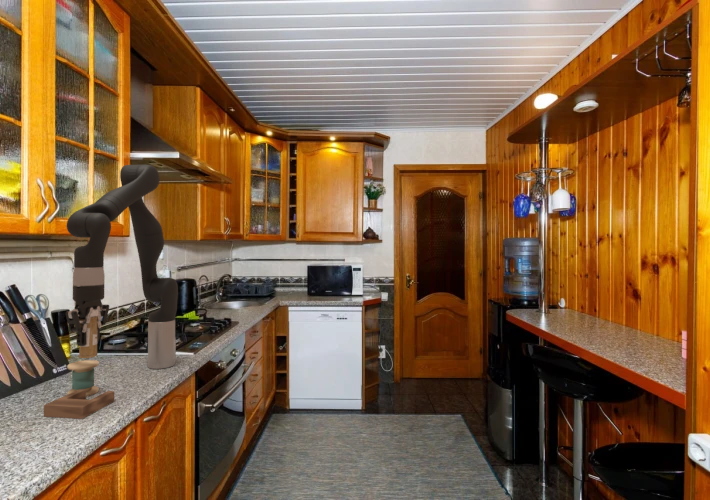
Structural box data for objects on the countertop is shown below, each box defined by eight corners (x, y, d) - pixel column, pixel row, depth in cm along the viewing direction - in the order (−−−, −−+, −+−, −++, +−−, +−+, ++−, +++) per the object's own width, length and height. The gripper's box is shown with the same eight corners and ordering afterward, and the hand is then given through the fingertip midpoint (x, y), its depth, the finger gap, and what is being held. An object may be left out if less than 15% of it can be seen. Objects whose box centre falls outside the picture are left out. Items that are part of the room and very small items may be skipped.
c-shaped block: (79, 399, 119) (79, 389, 119) (114, 401, 118) (114, 391, 118) (43, 416, 107) (43, 405, 107) (82, 418, 106) (82, 407, 106)
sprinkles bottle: (100, 356, 116) (101, 308, 116) (83, 359, 112) (84, 310, 112) (91, 353, 118) (92, 307, 118) (74, 357, 114) (75, 309, 114)
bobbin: (81, 387, 129) (81, 359, 128) (104, 389, 128) (104, 360, 128) (60, 397, 121) (60, 366, 121) (85, 398, 120) (85, 368, 120)
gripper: (95, 280, 122) (94, 337, 122) (55, 285, 108) (55, 349, 108) (118, 281, 121) (118, 338, 121) (81, 285, 107) (81, 350, 107)
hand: (88, 343), depth 115 cm, fingers closed on sprinkles bottle, 4 cm apart
